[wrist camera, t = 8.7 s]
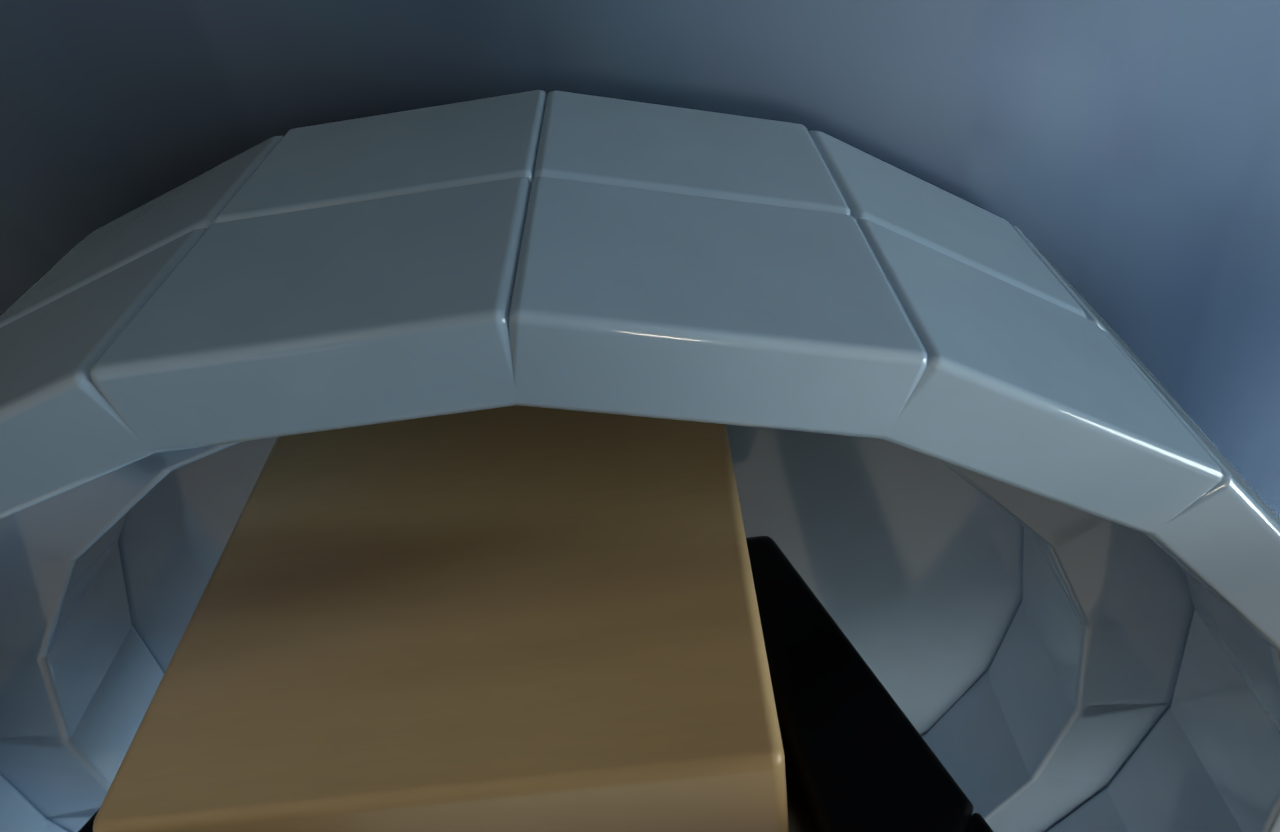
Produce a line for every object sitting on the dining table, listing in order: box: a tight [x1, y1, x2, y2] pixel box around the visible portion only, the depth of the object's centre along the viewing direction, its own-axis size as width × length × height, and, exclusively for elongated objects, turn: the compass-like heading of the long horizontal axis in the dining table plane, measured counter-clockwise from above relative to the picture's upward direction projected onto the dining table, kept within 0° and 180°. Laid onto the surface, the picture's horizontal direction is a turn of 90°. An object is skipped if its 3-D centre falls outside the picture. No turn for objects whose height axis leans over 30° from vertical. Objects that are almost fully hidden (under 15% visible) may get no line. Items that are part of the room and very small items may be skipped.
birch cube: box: [93, 405, 789, 832], centre depth 8 cm, size 4×4×4 cm
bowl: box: [0, 90, 1280, 832], centre depth 10 cm, size 15×15×4 cm
